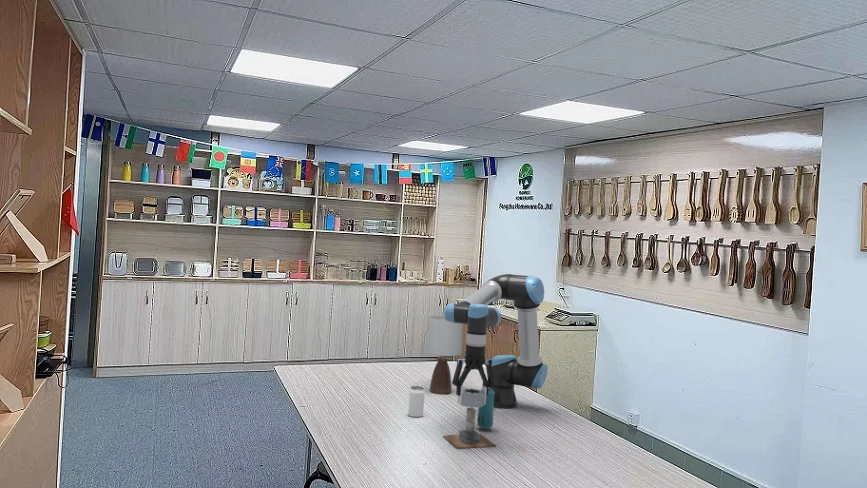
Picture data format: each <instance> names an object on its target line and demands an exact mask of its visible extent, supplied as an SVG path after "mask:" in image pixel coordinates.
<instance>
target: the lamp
mask: <svg viewBox="0 0 867 488" xmlns="http://www.w3.org/2000/svg"><path fill="white" fill-rule="evenodd" d="M462 347H463V324H461V323H454V322H449V321H447V320H446V319H445V315H430V316H428V323H427V329H426V338H425V345H424V353H426V354H429V355H433V356H437V358H436V361H437V362H436V364H435V365H434V366H435V367H434V368H433V372H432V376H431V379H430V383H429V385H430V386H429V392H431V393H433V394H436V395H437V394H439V395H449V394H451V393H452V390H453V389H452V388H453V387H452V385H453V384H452V376H451V369H450V365H449V363H448V361H449V358H448V357H458V356H462V353H463V351H462V350H463V348H462ZM438 356H439V357H438Z"/></svg>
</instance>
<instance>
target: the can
mask: <svg viewBox="0 0 867 488" xmlns="http://www.w3.org/2000/svg"><path fill="white" fill-rule="evenodd" d="M408 397H409V398H408V409H407V410H408V411H407V415H408V416H409V417H411V418H421V417H423V416H424V406H425V405H424V404H425V389H424V387H423V386H418V385H414V386H410V389H409V393H408Z"/></svg>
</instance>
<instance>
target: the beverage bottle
mask: <svg viewBox="0 0 867 488" xmlns="http://www.w3.org/2000/svg"><path fill="white" fill-rule="evenodd" d="M482 386H484V383H483V382H482V385H481V387H482ZM492 386H493V385H491V386H490V387H492ZM480 390H482V388H481V389H480ZM494 394H495V392H494V391H493V390H492V389H490V388H489V390H488V395H486V404H484V406H482V407H477V408H478V411H477V418H476V419H477V423H476V424H477V426H478V427H479V428H482V429H489V428H490V429H491V428H492V427H493V425H494V413H495V412H494V408H495V407H494Z"/></svg>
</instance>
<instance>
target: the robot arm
mask: <svg viewBox="0 0 867 488" xmlns="http://www.w3.org/2000/svg"><path fill="white" fill-rule="evenodd" d="M544 298H545V287H544V283H543V281H542V279H541V278H539V277H538V276H533V275H521V274H512V273H504V274H501V275H500V274H499V275H497V276H493V277H492V278H490V279H488V280H487V281H485V282H484V283H483V284H482V286H481V288H479V289H478V290H476V291H475V292H473V293H472V294H469V296H467V297H466V298H464V299H463V300H462V301H460V302H459V303H452V302H451V303H447V305H446V306H445V309H444V316H445V319H446V320H447V321H449V322H454V323H461V324H462V325H467V329H466V337H465V338H466V340H465V343H466V345H465V351H464V352H465V353H464V354H465V356H464V358H457V359H456V368H455V370H454V375H453V377H452V380H451V384H452V385H454V386H455V387H456V388H455V389H456V391H455V394H456V396H457V404H458V405H460V406H462V398H463V388H464V387H463V384H464V383H465V381H466V380H467V377H468V375H469V373H470V372H471V370H472V371H473V370H476V371H478V373H479V375H480V378H481V381H482V384H483V383H484V386H482V385H481V389H482V391H484V392H485V402H484V404H486V395H488V390H489V388H490V389H492V390H493V391H494V392H495V394H494V407H493V408H499V409H513V408H516V407H517V405H518V403H517V401H518V400H517V397H516V393H515V386H520V387H525V388H531V389H537V390H539V389H542V387H543V386H544V384H545V382H546V380H547V374H548V369H549V368H548V365H547V364H546V363H543V362H544V361H543V357H541V356H540V351H539V350H540V349H539V329H538V328H539V327H538V309H539V307H540V305H541V304H542V303H543V301H544ZM499 300H505V301H506V300H507V301H513V307H514V308H515V309H516V310H517V324H518V342H519V356H518V357H517V356H516V355H513V354H500V355H495V356H492V358H491V359H489V358H487V359H486V358H485V356H486V346H485V345H486V343H487V330H488V328H493V327H496V326H498V325H499V324H500V322H501V321H502V313H501V311H500V310H499V309H497V308H496V307H488V305H489V304H490V303H492V302H497V301H499ZM464 364H465V366H464V369H463V365H464ZM484 364H485V369H486V373H485V369H484V367H483V365H484ZM462 369H463V371H462ZM491 385H493V386H492V387H490V386H491Z"/></svg>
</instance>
